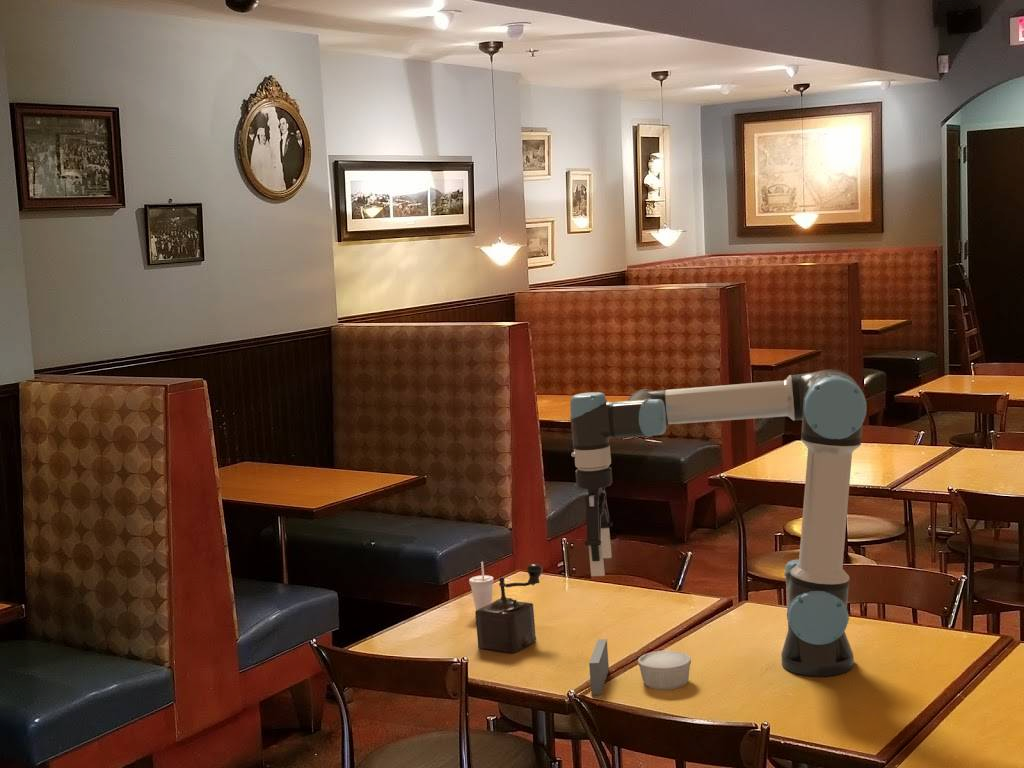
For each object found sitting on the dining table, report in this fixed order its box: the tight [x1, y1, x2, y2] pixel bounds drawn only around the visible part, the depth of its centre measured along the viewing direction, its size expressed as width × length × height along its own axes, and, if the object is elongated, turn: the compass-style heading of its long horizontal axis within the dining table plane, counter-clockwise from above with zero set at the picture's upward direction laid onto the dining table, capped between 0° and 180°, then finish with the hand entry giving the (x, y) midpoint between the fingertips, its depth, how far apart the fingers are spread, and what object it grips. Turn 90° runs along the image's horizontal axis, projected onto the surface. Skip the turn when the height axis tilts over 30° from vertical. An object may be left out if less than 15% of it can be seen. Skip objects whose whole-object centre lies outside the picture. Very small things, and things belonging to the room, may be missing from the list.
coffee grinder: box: [475, 563, 544, 655], centre depth 292 cm, size 16×11×18 cm
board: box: [588, 638, 610, 696], centre depth 262 cm, size 2×15×7 cm, turn 169°
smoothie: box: [468, 561, 495, 611], centre depth 315 cm, size 6×6×14 cm
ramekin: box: [637, 650, 692, 691], centre depth 259 cm, size 11×11×5 cm
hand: (601, 566), depth 256 cm, fingers open, 13 cm apart
